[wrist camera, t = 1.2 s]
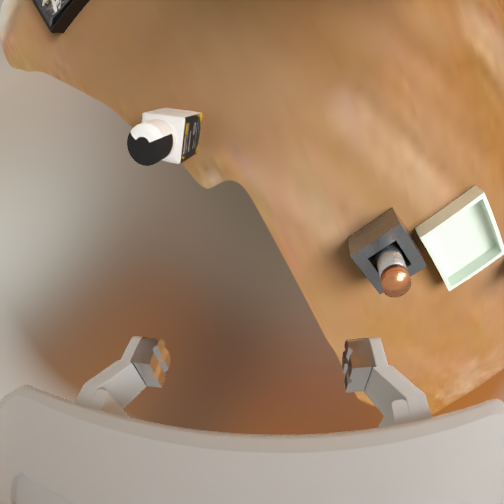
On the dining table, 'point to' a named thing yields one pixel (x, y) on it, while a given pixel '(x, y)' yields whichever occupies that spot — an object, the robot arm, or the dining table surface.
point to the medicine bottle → (165, 136)
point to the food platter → (59, 12)
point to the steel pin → (393, 271)
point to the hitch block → (383, 246)
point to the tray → (462, 237)
